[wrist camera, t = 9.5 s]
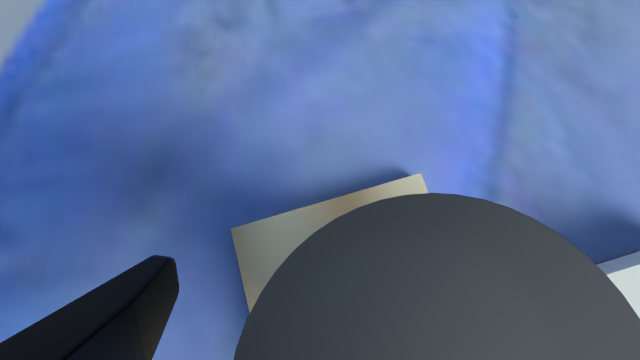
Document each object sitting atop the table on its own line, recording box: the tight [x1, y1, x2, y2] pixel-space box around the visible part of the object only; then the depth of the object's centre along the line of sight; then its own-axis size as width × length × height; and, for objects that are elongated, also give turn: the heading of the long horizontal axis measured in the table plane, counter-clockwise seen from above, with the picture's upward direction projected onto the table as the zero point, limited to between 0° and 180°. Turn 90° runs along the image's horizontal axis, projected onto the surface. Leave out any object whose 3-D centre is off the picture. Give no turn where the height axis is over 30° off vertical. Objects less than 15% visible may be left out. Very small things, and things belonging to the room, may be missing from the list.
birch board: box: [231, 173, 428, 313], centre depth 16 cm, size 9×9×1 cm
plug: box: [234, 193, 640, 360], centre depth 9 cm, size 5×5×13 cm
